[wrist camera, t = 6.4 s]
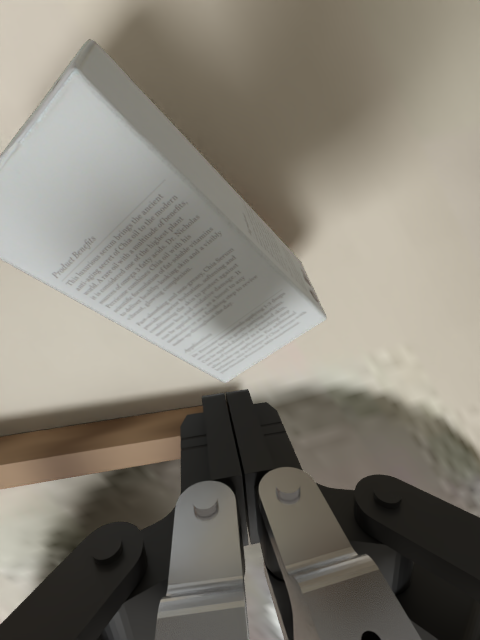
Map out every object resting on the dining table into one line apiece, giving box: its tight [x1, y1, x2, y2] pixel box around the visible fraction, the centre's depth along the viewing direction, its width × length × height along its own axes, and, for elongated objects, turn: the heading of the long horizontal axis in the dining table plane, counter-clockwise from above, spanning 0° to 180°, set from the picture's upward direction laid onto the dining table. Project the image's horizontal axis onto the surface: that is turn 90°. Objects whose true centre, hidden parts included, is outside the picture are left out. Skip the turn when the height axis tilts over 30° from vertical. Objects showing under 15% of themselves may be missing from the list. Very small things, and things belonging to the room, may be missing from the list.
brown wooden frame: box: [0, 406, 203, 489], centre depth 18 cm, size 18×14×2 cm
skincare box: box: [0, 39, 326, 383], centre depth 14 cm, size 6×4×12 cm
